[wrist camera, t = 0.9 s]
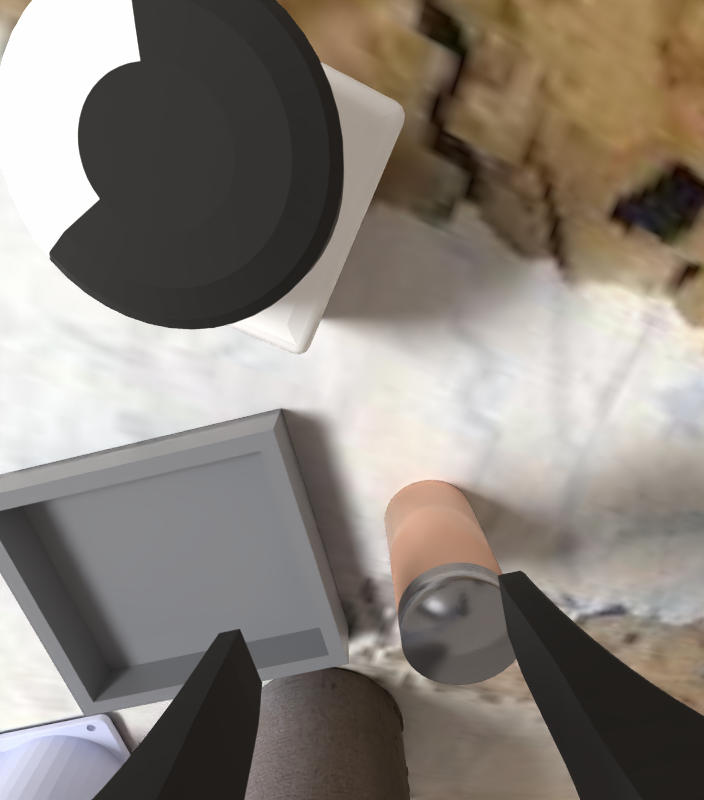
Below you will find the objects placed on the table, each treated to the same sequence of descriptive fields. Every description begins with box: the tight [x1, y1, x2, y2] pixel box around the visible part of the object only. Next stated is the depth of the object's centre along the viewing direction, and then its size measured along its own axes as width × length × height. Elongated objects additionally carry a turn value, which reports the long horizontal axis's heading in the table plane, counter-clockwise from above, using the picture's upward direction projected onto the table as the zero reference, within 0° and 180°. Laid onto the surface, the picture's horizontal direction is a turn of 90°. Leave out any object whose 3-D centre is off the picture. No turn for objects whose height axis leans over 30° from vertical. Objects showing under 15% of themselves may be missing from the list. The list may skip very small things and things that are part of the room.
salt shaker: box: [385, 480, 516, 685], centre depth 20 cm, size 4×4×8 cm
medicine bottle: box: [0, 0, 405, 354], centre depth 13 cm, size 7×7×12 cm
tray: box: [0, 409, 349, 716], centre depth 23 cm, size 14×13×2 cm
